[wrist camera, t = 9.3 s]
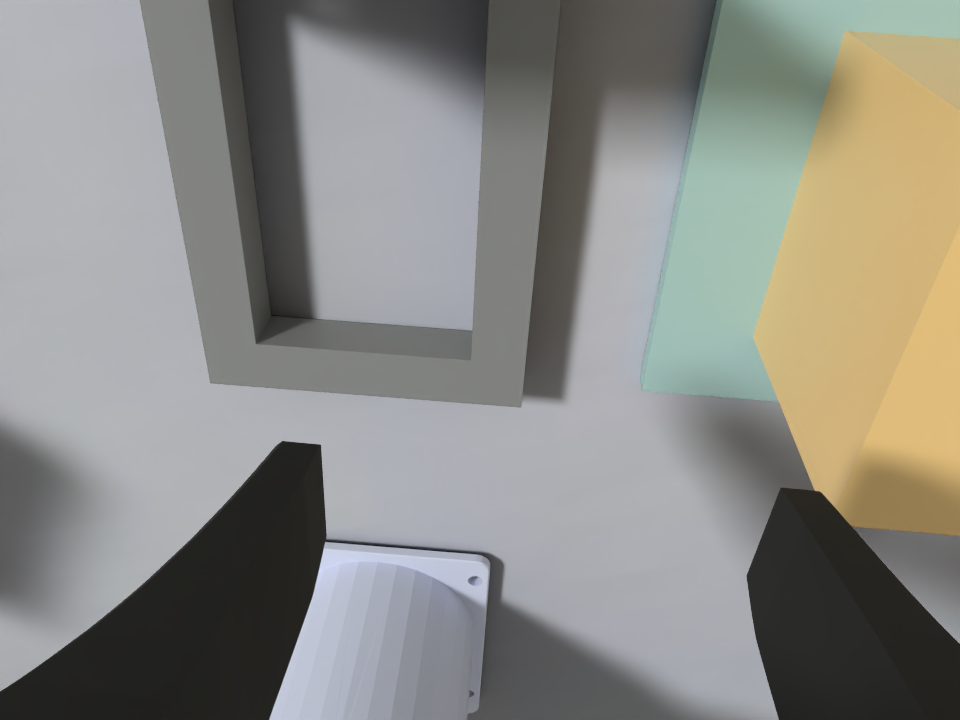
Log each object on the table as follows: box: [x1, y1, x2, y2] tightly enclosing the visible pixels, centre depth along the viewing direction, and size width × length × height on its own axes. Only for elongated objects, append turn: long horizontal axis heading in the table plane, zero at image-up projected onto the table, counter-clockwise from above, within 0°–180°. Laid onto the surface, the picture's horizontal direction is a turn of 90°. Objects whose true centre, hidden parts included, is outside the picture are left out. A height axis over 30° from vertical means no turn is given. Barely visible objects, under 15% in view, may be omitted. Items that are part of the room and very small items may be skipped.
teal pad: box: [640, 0, 960, 402], centre depth 20 cm, size 12×10×1 cm
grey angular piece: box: [140, 0, 561, 407], centre depth 16 cm, size 13×9×9 cm
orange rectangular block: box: [753, 30, 960, 536], centre depth 17 cm, size 8×4×7 cm, turn 177°
